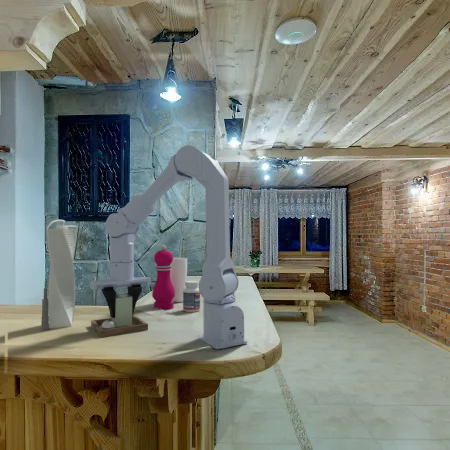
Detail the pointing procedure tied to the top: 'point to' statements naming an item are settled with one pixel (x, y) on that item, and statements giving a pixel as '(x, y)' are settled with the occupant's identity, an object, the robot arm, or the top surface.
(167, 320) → the top surface
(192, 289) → the pill bottle
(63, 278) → the skyscraper
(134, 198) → the robot arm
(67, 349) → the top surface
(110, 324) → the steel ball
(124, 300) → the spice tin
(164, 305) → the pepper mill
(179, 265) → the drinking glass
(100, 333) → the tray
